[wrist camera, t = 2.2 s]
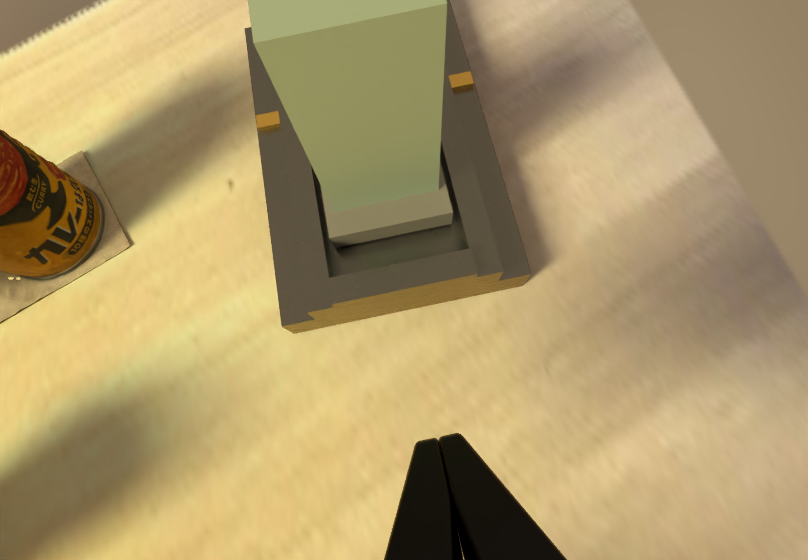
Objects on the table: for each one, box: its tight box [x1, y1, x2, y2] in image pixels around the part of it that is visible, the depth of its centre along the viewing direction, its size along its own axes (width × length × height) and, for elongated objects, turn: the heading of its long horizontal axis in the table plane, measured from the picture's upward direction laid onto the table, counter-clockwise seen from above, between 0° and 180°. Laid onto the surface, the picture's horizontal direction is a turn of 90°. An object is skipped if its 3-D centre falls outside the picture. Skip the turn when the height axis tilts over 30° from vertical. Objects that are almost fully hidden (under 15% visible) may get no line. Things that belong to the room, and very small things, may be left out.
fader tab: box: [248, 0, 453, 248], centre depth 17 cm, size 5×6×11 cm
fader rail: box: [245, 0, 531, 334], centre depth 24 cm, size 18×12×4 cm, turn 12°
